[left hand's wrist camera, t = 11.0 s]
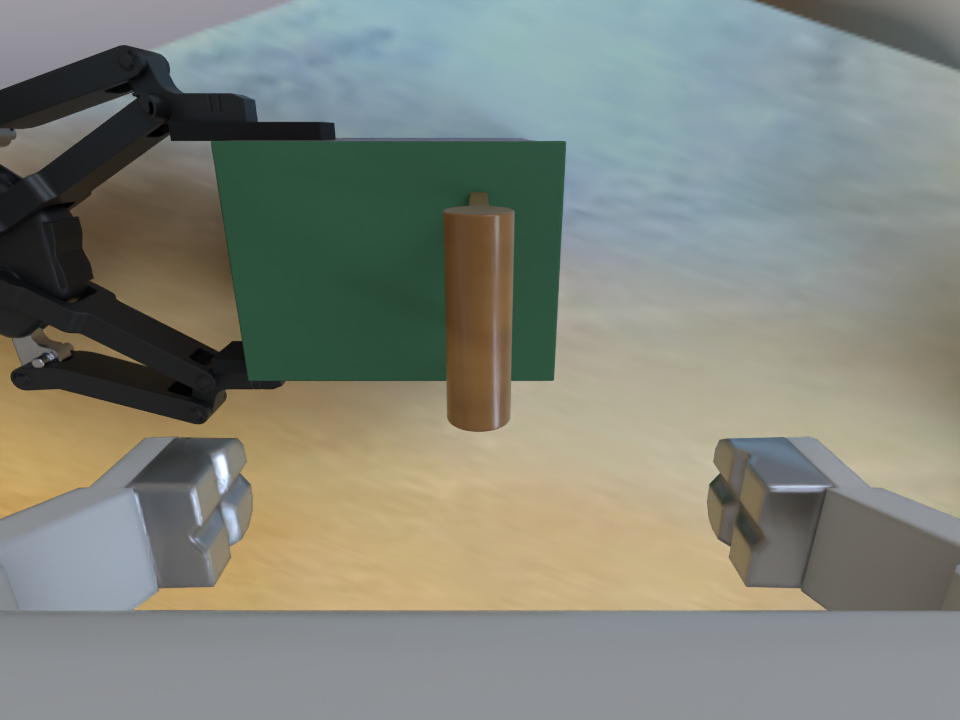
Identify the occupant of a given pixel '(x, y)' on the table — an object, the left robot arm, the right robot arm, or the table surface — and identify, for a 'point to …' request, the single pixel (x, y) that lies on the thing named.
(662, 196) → the table surface
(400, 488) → the table surface
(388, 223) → the lid
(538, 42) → the table surface
